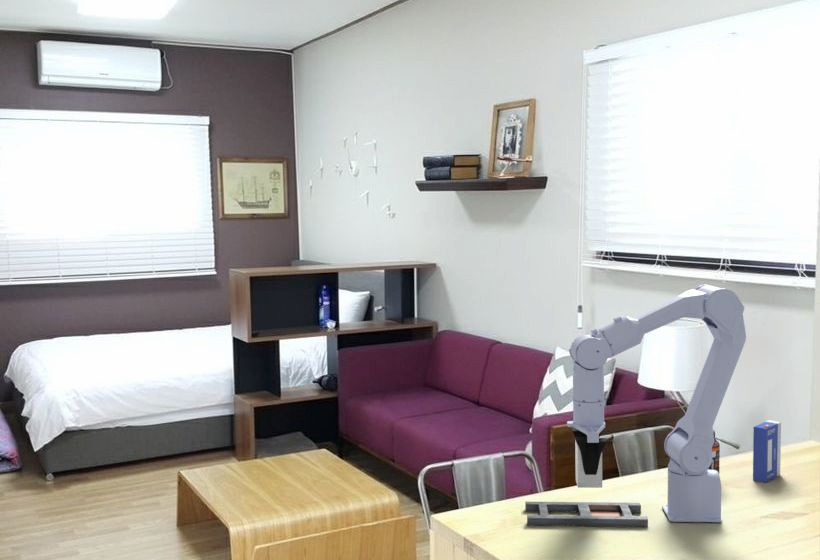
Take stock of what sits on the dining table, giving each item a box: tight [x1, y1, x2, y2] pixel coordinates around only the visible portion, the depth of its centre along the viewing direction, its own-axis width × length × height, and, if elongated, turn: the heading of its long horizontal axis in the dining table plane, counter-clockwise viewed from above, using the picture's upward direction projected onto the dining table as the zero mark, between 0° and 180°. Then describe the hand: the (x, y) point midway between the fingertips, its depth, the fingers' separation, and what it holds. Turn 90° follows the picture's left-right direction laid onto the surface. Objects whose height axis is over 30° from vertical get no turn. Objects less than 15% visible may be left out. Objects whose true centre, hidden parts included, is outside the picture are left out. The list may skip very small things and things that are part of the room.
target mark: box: [590, 511, 621, 516], centre depth 165 cm, size 5×5×1 cm
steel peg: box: [574, 439, 603, 489], centre depth 165 cm, size 4×4×8 cm
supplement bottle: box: [708, 429, 721, 474], centre depth 185 cm, size 6×6×11 cm
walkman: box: [752, 419, 782, 483], centre depth 187 cm, size 8×3×12 cm, turn 134°
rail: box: [524, 501, 649, 528], centre depth 166 cm, size 22×9×2 cm, turn 85°
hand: (589, 470), depth 165 cm, fingers closed on steel peg, 4 cm apart
